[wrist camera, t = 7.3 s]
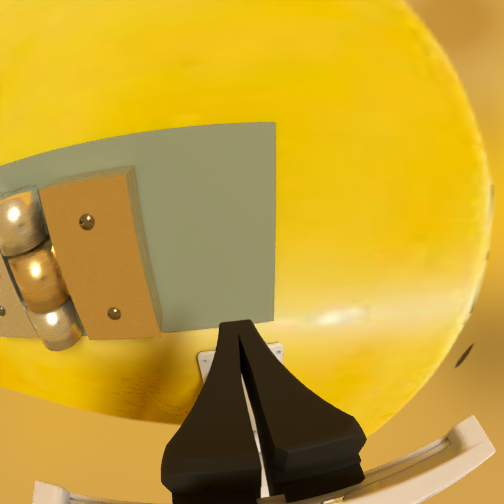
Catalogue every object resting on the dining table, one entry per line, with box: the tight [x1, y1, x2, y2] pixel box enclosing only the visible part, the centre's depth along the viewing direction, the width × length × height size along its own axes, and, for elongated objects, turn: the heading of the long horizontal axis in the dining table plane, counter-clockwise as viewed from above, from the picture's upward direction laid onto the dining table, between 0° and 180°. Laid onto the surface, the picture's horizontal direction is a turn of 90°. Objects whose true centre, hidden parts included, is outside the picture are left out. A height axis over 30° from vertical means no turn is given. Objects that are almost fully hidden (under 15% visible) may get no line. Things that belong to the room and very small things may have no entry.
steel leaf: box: [0, 185, 83, 351], centre depth 17 cm, size 12×10×4 cm
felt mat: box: [0, 122, 276, 336], centre depth 20 cm, size 16×27×1 cm, turn 91°
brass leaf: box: [8, 165, 163, 340], centre depth 18 cm, size 12×10×4 cm
